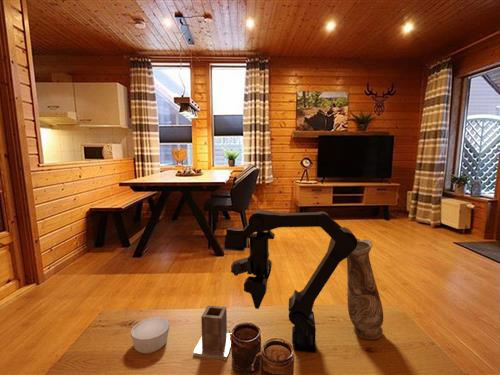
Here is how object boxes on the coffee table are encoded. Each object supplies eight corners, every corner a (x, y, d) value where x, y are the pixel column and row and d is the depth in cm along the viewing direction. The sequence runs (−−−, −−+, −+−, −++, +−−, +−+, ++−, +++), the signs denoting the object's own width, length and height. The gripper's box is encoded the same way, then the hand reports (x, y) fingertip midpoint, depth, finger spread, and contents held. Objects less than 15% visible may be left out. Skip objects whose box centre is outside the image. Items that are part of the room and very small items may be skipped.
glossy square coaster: (234, 336, 84) (234, 322, 84) (226, 360, 74) (226, 343, 74) (204, 333, 86) (204, 319, 85) (193, 355, 76) (192, 339, 75)
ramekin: (133, 335, 85) (132, 320, 84) (169, 328, 88) (168, 314, 88) (129, 360, 74) (128, 343, 74) (170, 351, 78) (169, 334, 77)
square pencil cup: (226, 337, 82) (226, 307, 81) (221, 350, 77) (221, 318, 76) (208, 335, 83) (207, 305, 82) (202, 348, 77) (201, 316, 76)
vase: (383, 321, 89) (371, 236, 86) (388, 343, 79) (375, 248, 76) (350, 319, 92) (338, 238, 89) (351, 340, 83) (337, 250, 80)
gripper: (239, 241, 90) (239, 284, 92) (225, 261, 72) (226, 315, 74) (271, 242, 89) (271, 287, 90) (265, 264, 70) (265, 319, 72)
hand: (259, 300), depth 81 cm, fingers open, 9 cm apart
